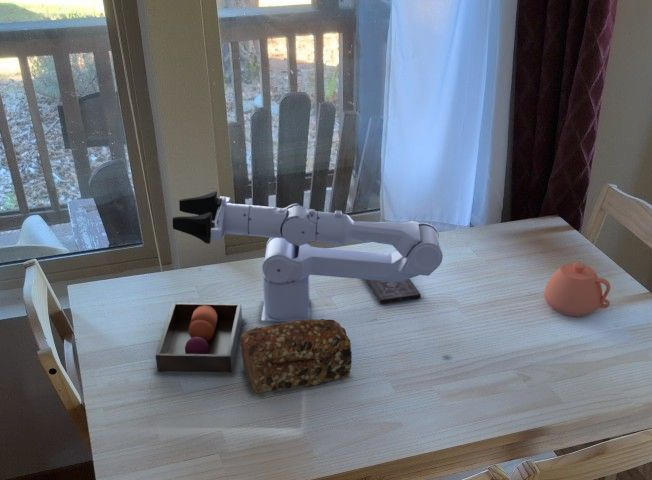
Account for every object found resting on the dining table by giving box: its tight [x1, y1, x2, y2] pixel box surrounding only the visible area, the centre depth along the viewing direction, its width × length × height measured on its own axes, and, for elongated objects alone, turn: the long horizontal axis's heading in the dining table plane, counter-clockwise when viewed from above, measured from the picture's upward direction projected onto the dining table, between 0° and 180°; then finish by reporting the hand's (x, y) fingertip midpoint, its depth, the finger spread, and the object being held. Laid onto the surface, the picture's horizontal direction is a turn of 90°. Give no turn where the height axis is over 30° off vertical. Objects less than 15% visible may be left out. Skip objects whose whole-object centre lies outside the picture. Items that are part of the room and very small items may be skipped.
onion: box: [185, 337, 209, 354], centre depth 153 cm, size 4×4×4 cm
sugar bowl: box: [543, 261, 611, 319], centre depth 174 cm, size 12×14×10 cm
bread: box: [239, 318, 353, 394], centre depth 150 cm, size 19×11×10 cm, turn 111°
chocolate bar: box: [364, 278, 422, 305], centre depth 182 cm, size 9×1×18 cm
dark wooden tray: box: [154, 302, 243, 373], centre depth 158 cm, size 13×18×4 cm
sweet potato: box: [189, 305, 217, 342], centre depth 160 cm, size 9×5×5 cm, turn 3°
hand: (176, 213), depth 156 cm, fingers open, 7 cm apart
